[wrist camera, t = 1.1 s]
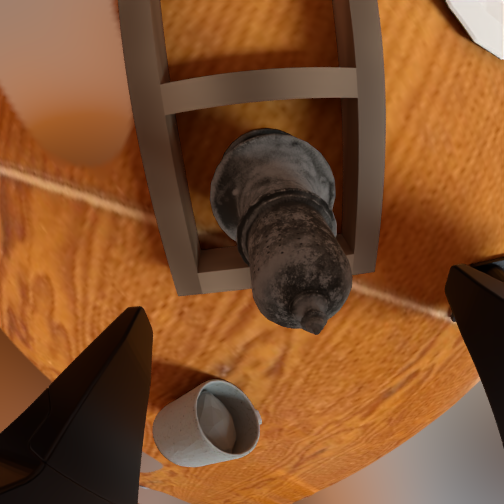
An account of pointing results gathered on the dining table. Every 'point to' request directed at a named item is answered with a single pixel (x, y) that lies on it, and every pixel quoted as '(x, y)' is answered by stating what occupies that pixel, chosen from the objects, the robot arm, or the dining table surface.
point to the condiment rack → (254, 90)
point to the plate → (481, 22)
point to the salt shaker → (283, 226)
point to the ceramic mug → (207, 425)
